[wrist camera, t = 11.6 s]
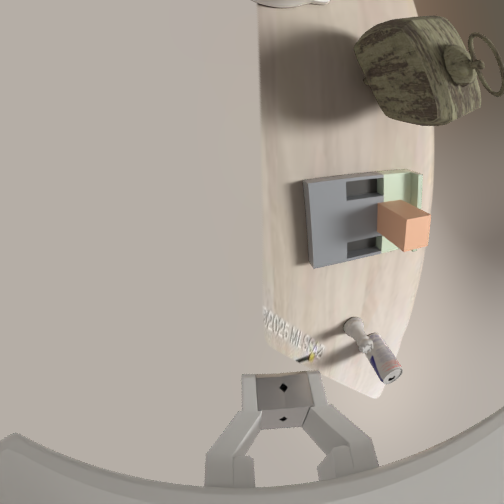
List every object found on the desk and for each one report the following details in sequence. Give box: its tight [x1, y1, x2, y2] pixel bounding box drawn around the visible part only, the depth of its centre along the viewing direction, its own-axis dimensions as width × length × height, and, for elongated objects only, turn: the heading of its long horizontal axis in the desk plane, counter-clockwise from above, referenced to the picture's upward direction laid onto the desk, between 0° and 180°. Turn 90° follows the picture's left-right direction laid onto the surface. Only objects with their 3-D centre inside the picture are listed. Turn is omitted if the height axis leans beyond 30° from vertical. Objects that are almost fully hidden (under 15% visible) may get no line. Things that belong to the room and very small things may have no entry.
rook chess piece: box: [344, 317, 373, 354], centre depth 50 cm, size 4×4×8 cm
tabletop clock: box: [354, 16, 504, 126], centre depth 22 cm, size 14×9×25 cm, turn 29°
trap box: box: [303, 169, 423, 269], centre depth 41 cm, size 20×14×4 cm
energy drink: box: [365, 333, 403, 384], centre depth 52 cm, size 5×5×12 cm
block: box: [377, 200, 431, 252], centre depth 38 cm, size 5×5×8 cm
